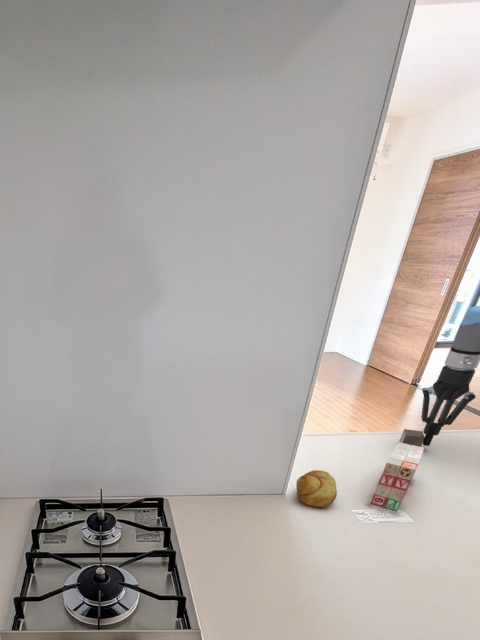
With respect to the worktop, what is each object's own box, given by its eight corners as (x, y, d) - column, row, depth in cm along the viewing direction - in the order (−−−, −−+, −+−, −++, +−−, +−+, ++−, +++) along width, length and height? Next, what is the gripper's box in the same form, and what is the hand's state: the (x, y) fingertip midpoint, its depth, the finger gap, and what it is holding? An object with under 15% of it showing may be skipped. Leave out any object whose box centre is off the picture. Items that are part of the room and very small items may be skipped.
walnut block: (416, 445, 139) (422, 431, 136) (418, 452, 135) (424, 437, 132) (398, 443, 141) (404, 428, 138) (399, 449, 137) (405, 435, 134)
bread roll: (301, 482, 123) (308, 456, 118) (338, 491, 118) (347, 465, 114) (289, 503, 114) (296, 477, 110) (329, 514, 110) (338, 487, 105)
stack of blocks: (387, 471, 126) (402, 431, 119) (412, 477, 123) (429, 437, 116) (370, 503, 113) (386, 461, 106) (397, 512, 109) (416, 469, 102)
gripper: (433, 368, 121) (402, 445, 135) (491, 373, 117) (453, 452, 130) (430, 361, 127) (400, 435, 140) (485, 365, 122) (448, 442, 136)
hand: (425, 443), depth 135 cm, fingers closed
